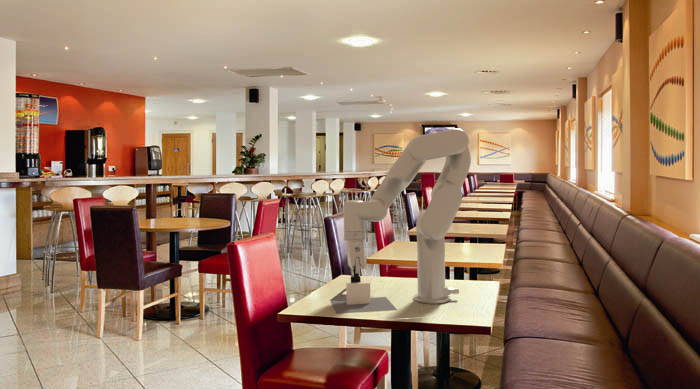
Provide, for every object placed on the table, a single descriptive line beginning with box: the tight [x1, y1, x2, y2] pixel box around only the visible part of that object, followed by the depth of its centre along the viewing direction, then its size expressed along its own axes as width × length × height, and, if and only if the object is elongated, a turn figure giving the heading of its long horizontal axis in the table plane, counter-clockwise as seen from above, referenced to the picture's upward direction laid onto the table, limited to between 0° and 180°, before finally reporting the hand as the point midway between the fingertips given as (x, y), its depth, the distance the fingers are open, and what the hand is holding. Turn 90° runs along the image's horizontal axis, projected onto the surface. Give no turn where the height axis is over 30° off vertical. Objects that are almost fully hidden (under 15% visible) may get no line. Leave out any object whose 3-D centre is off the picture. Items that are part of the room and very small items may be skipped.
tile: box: [345, 281, 371, 305], centre depth 191 cm, size 8×2×7 cm, turn 98°
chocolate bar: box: [330, 288, 346, 301], centre depth 204 cm, size 9×1×18 cm
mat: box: [329, 296, 398, 315], centre depth 189 cm, size 20×18×1 cm
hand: (355, 287), depth 196 cm, fingers closed
